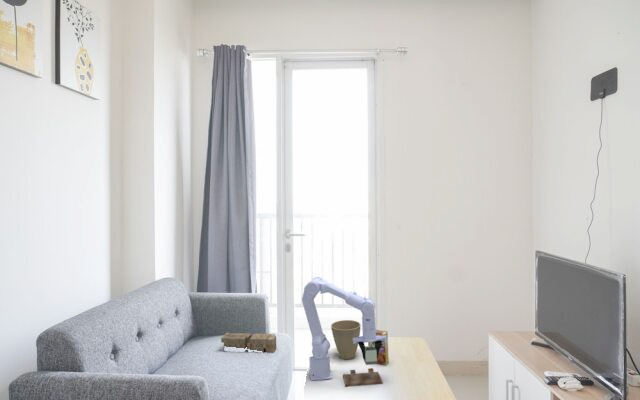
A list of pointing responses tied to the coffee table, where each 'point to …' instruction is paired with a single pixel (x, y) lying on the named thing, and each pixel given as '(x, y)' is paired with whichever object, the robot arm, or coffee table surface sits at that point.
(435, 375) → the coffee table surface
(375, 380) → the pin board
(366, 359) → the sleeve
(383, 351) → the candy box
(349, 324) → the plant pot
